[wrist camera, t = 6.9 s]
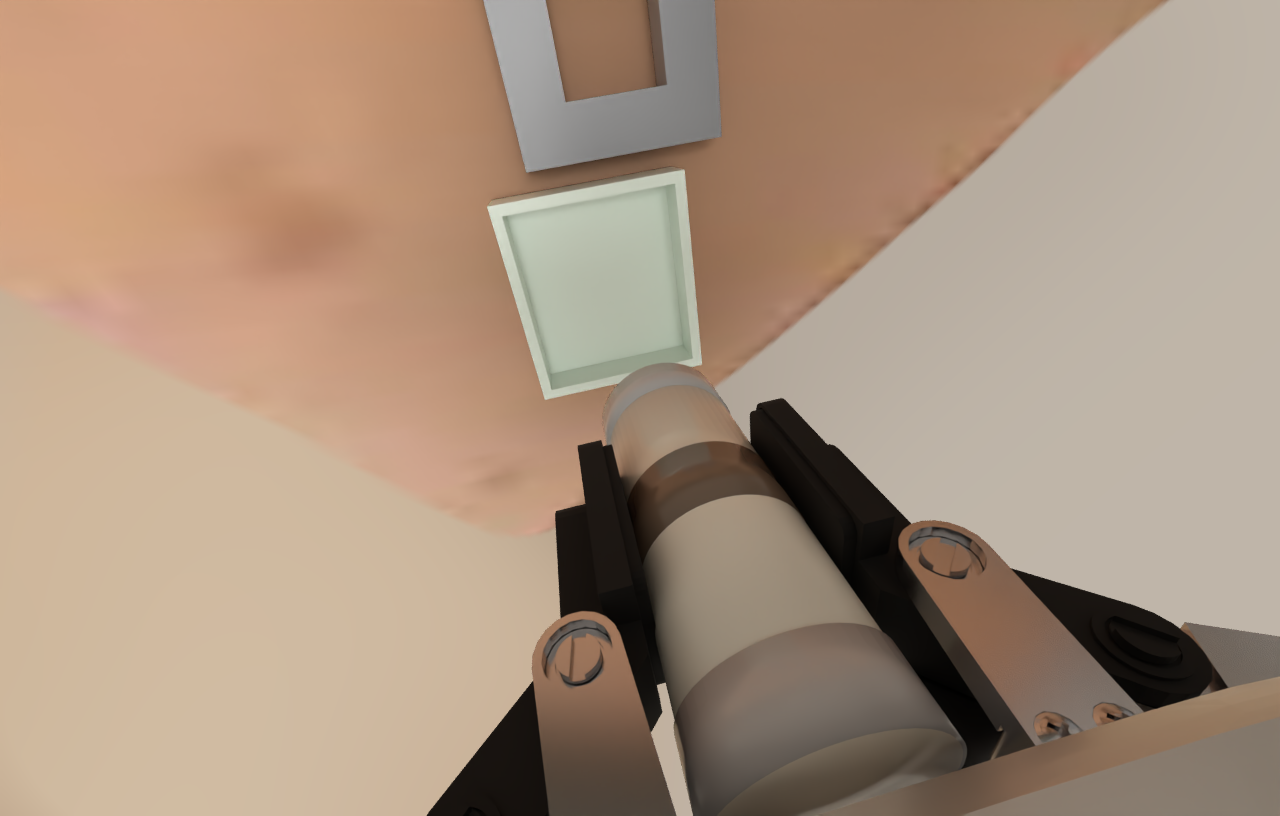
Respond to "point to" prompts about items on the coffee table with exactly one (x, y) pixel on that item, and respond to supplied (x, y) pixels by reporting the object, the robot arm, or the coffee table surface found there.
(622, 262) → the parts tray
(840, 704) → the cylinder
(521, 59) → the socket block
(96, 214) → the coffee table surface
